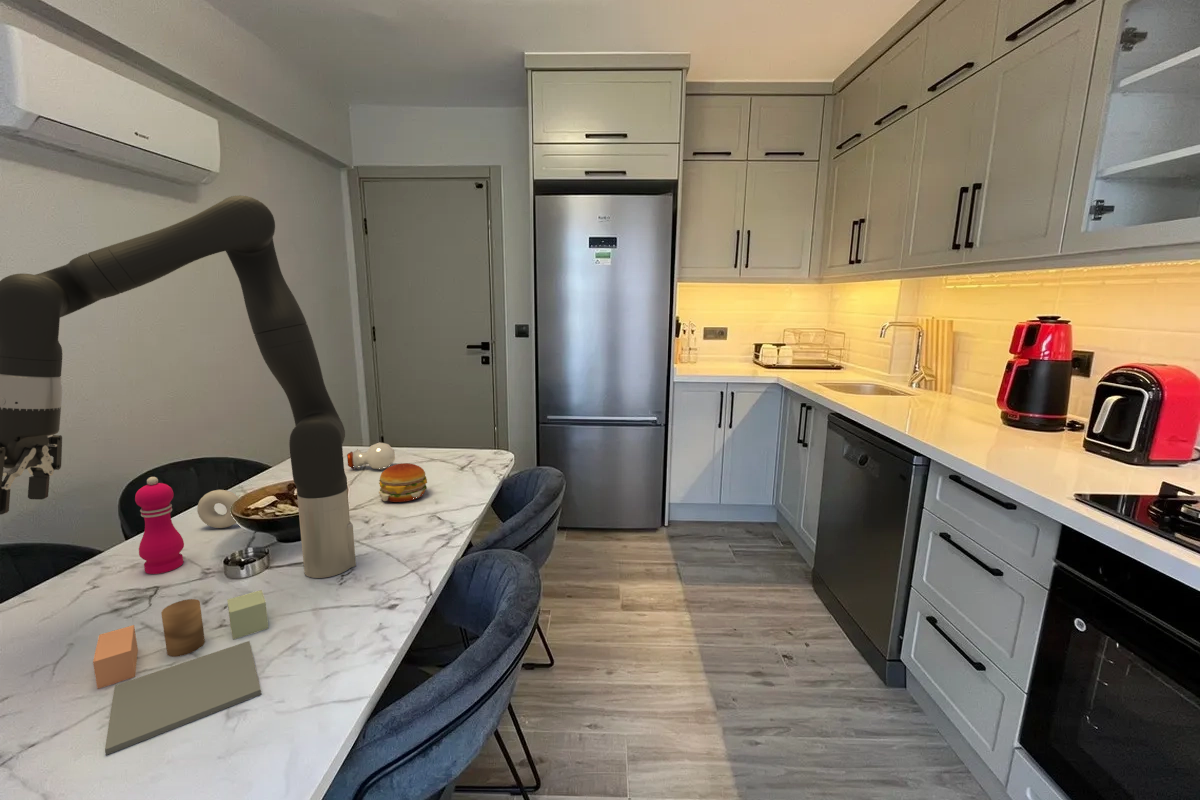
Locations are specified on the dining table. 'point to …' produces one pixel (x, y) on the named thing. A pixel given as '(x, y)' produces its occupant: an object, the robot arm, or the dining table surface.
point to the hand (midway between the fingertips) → (18, 505)
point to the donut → (208, 511)
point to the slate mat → (180, 695)
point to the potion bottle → (372, 457)
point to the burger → (402, 482)
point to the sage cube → (247, 614)
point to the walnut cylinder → (183, 627)
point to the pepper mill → (158, 529)
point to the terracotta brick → (115, 656)
